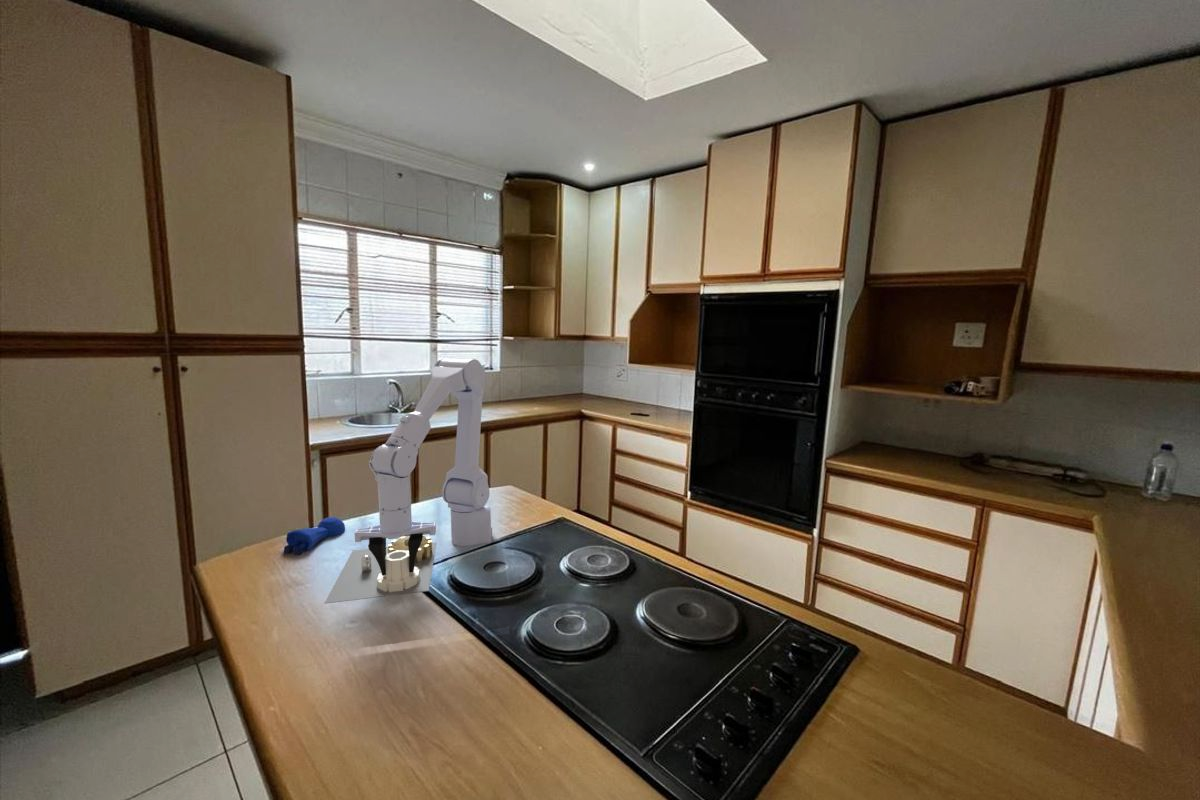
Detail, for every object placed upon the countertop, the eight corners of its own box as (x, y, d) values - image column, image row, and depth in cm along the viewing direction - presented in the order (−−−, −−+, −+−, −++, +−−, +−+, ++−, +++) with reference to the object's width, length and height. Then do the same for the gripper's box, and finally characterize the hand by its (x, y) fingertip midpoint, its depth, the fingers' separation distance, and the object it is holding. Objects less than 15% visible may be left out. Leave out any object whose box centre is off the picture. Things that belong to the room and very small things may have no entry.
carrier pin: (372, 568, 101) (371, 553, 100) (370, 572, 99) (369, 557, 99) (362, 569, 100) (362, 554, 100) (361, 573, 99) (360, 558, 98)
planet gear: (421, 570, 100) (420, 545, 100) (417, 588, 93) (416, 562, 92) (381, 574, 99) (380, 548, 98) (374, 593, 91) (372, 566, 90)
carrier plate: (436, 545, 114) (436, 542, 114) (428, 594, 93) (428, 590, 93) (352, 553, 109) (352, 550, 109) (324, 607, 88) (324, 603, 88)
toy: (305, 562, 106) (352, 532, 121) (302, 536, 105) (350, 509, 120) (279, 559, 108) (329, 530, 122) (276, 533, 107) (326, 506, 121)
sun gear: (433, 545, 112) (433, 530, 112) (430, 563, 103) (430, 547, 103) (392, 549, 110) (391, 534, 109) (385, 567, 101) (384, 551, 101)
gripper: (349, 516, 88) (353, 586, 90) (433, 510, 92) (435, 577, 94) (357, 503, 95) (361, 568, 97) (435, 497, 98) (437, 560, 100)
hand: (398, 571), depth 96 cm, fingers closed on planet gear, 4 cm apart
